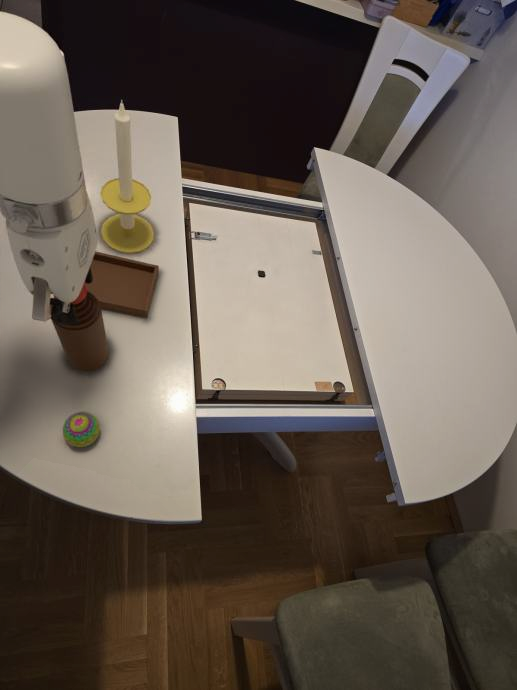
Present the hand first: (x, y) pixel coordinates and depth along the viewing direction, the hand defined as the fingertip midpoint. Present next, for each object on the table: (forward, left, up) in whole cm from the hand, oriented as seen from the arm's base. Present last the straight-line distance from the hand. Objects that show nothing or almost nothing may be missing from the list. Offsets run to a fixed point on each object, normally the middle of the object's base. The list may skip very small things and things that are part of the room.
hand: (72, 298), depth 50 cm
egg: (+3, -13, -17) cm, 22 cm away
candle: (0, +27, -17) cm, 32 cm away
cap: (0, 0, +2) cm, 2 cm away
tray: (+1, +14, -17) cm, 22 cm away
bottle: (0, 0, -17) cm, 17 cm away
